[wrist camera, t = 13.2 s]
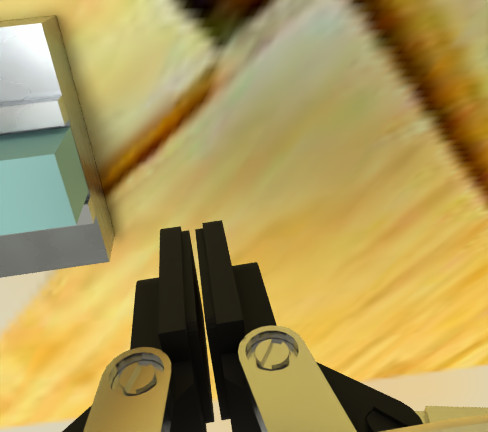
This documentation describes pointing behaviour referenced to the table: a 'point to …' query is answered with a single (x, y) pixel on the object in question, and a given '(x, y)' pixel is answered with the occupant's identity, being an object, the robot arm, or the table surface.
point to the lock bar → (40, 181)
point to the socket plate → (44, 118)
